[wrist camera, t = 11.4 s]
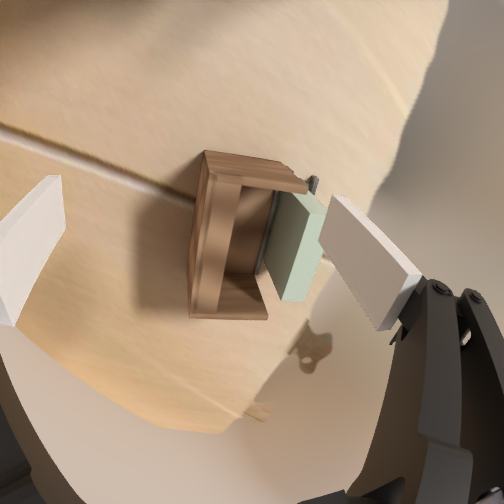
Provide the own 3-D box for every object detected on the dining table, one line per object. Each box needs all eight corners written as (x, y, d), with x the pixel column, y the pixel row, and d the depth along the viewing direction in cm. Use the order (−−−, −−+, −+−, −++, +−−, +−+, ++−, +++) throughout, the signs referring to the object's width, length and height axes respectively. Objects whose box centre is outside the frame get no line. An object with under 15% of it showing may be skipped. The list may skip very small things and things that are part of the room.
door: (282, 182, 40) (309, 213, 31) (304, 186, 40) (335, 217, 32) (262, 257, 45) (281, 301, 37) (282, 259, 46) (304, 301, 38)
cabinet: (204, 150, 35) (209, 172, 27) (317, 169, 39) (352, 196, 31) (186, 271, 44) (189, 318, 35) (284, 277, 48) (304, 319, 40)
